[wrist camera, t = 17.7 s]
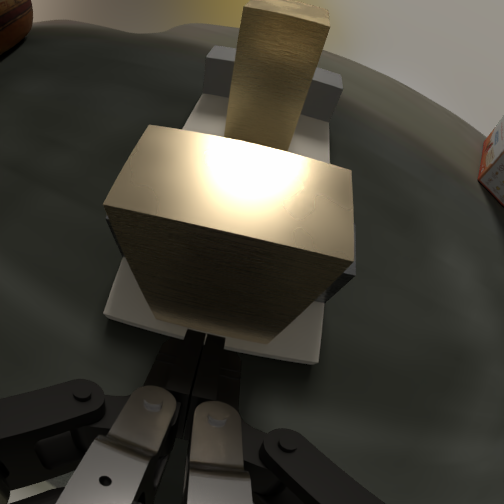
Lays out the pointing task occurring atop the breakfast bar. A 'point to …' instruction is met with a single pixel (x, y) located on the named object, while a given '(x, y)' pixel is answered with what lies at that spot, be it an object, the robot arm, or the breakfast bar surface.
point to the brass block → (274, 70)
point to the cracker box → (493, 163)
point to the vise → (303, 143)
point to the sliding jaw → (231, 231)
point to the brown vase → (14, 22)
